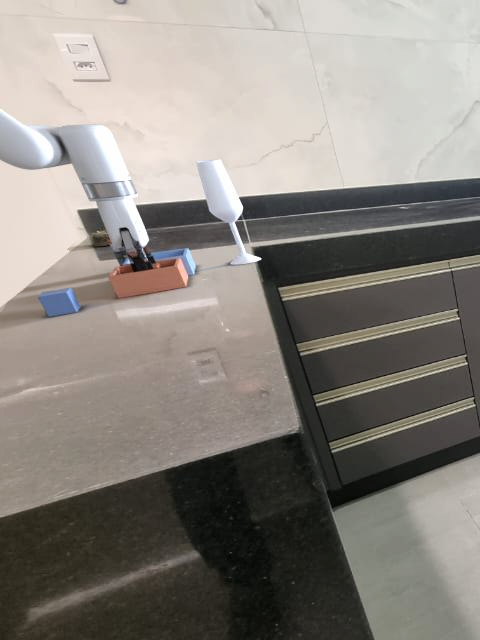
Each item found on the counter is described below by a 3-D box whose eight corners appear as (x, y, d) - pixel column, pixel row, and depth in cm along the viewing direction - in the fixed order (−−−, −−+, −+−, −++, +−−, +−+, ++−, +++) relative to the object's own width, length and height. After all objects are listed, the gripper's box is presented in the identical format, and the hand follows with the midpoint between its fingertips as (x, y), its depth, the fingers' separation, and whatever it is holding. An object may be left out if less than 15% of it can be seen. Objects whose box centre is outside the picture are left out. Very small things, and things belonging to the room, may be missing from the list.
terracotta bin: (118, 298, 109) (107, 276, 107) (125, 287, 116) (115, 266, 114) (186, 286, 115) (177, 266, 113) (188, 276, 122) (180, 257, 120)
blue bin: (131, 284, 118) (122, 264, 116) (137, 275, 125) (128, 256, 123) (194, 274, 124) (185, 255, 122) (195, 266, 131) (188, 247, 129)
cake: (101, 249, 157) (90, 232, 154) (90, 247, 162) (79, 229, 159) (141, 239, 164) (131, 222, 161) (129, 237, 169) (119, 220, 166)
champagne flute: (258, 256, 138) (222, 158, 128) (264, 260, 134) (228, 159, 123) (227, 261, 134) (188, 161, 124) (232, 266, 130) (192, 162, 119)
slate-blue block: (48, 317, 100) (37, 297, 98) (53, 311, 103) (42, 292, 101) (77, 312, 102) (66, 292, 100) (81, 306, 105) (71, 287, 103)
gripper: (93, 189, 111) (132, 273, 119) (77, 197, 98) (121, 290, 106) (140, 185, 115) (174, 266, 123) (130, 193, 102) (169, 283, 110)
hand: (149, 277), depth 114 cm, fingers open, 5 cm apart
